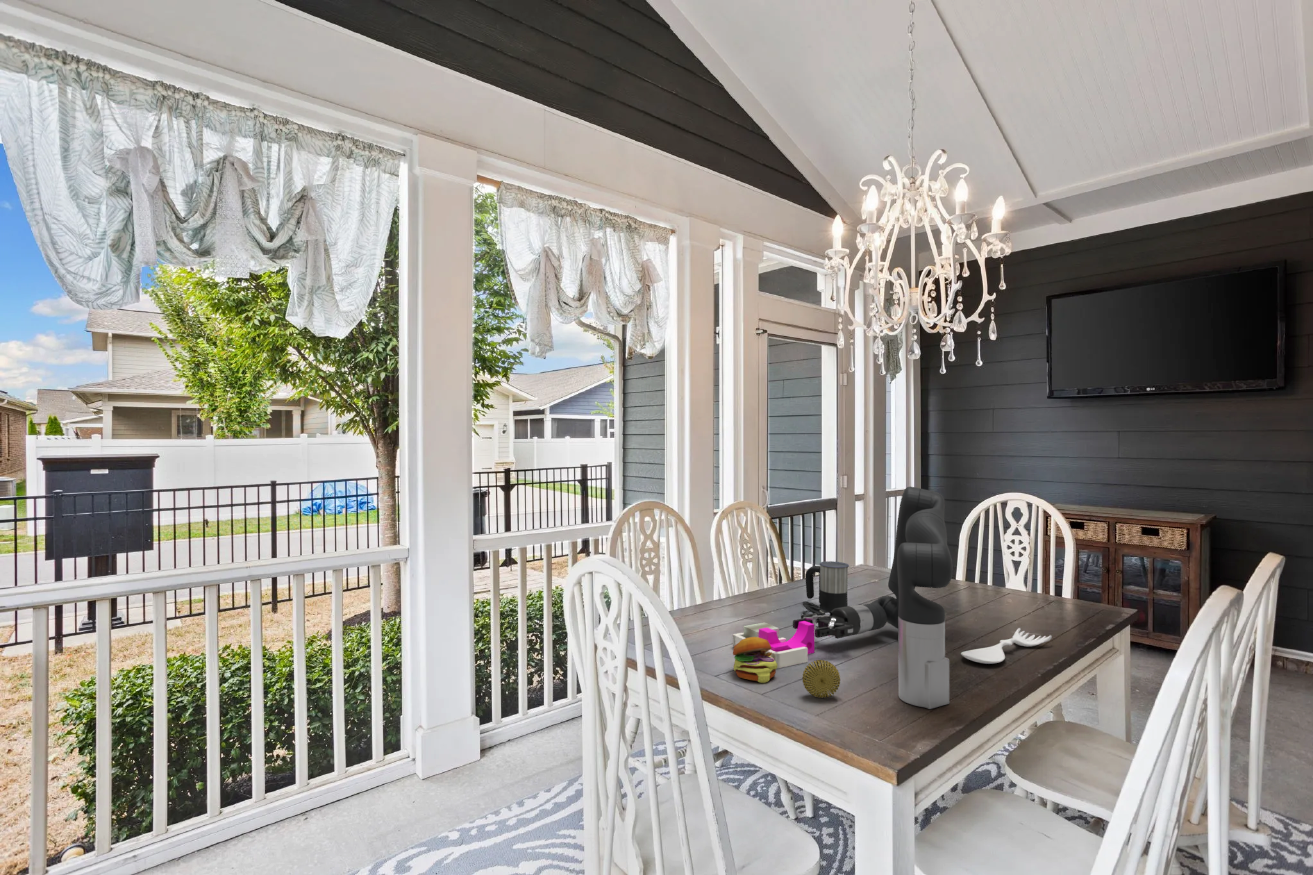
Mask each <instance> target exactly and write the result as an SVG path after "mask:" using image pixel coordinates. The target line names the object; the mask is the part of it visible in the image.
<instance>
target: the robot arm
mask: <svg viewBox="0 0 1313 875" xmlns="http://www.w3.org/2000/svg"><path fill="white" fill-rule="evenodd" d="M945 504H946V500H945V497H944V496H943V495H942V493H939V492H937V491H933V490H930V489H925V488H920V487H913V486H907V487H906V488H905V489H904V491H903V493H902V496H901V499H900V502H899V509H898V515H897V523H896V532H895V542H894V552H893V553H894V554H893V561H892V564H891V570H890V574H889V578H888V582H887V583H888V585H887V587H888V588H889V590H890V592H892V593H893V594H894V596H895V597H894V596H890V595H883V596H880V597H878V598H877V599H876V600H874V601H872V602H870V603H867V604H853V605H848V606H847V607H841V608H835V609H833V610H832V612H829V614H825V615H820V613H812V612H811V613H807V614H801V615H800V618H798V619H794V620H792V629H795V630H797V628H798V624H799V622H801V621H806V622H809V623H812V624H814V638H817V639H819V638H825V637H829V638H832V637H834V638H835V639H842V638H846V637H850V636H857V635H861V634H864V633H866V632H872V631H877V630H879V629H883V628H884V627H885V626H886V624H887V623H888V624H890V625H891V626H893V627H894V628H895V629H897V630H898V633H897V635H898V640H897V641H898V642H897V643H898V644H897V646H898V648H897V649H898V650H897V651H898V653H897V654H898V656H897V657H898V658H897V660H898V663H897V664H898V668H897V670H898V671H897V672H898V698H899V699H900V700H901V701H903V702H904V703H907V704H909V705H911V706H916V707H921V708H926V709H928V710H932V709H935V708H938V707H942V706H945V705H949V704H950V659H949V658H948V657H946V611H945V608H944V606H942V605H941V604H940V603H937V602H935V601H933V600H930V599H928V598H925V597H924V596H923V595H921V594H920V593H918V592H917V591H916V590H915V588H916V587H917V588H927V589H928V588H930V589H941V588H942V589H943V588H946V587H947V586H949V585H950V583H951V581H952V578H953V573H954V572H953V571H954V567H953V566H954V565H953V559H952V554H951V551H950V549H949V546H948V534H947V532H948V531H947V527H946V522H945V512H946V511H945V510H946V509H945V508H946V505H945Z"/></svg>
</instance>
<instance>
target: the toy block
mask: <svg viewBox="0 0 1313 875" xmlns="http://www.w3.org/2000/svg"><path fill="white" fill-rule="evenodd" d="M759 638H762V639H765V640H768V642H769V644H770V645H771V650H773V651H775V652H780V651H785V650H790V649H795V648H800V647H807V648H808V655H811V654H814V653H815V629H814V624H812V623H809V622H806V621H801V622H799V624H798V628H797V629H796V630H795V632H794V634H793V636H792V637H790V639H788V640H786V642H783V643H781V642H780V640H779V639H778V636H777V631H775V630H772V629H770V628H761V629H759Z"/></svg>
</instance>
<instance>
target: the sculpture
mask: <svg viewBox="0 0 1313 875" xmlns="http://www.w3.org/2000/svg"><path fill="white" fill-rule="evenodd" d="M802 672H803V673H802V676H801V677H802V684H803V687H804V689H805V690H806V691H807V693H808V694H810V695H811V696H813V697H814V698H818V699H823V698H824V699H826V698H829V697H831V696H832V695H834V694H835V693H837V690H839V687H840V685H841V676H840V672H839V670H838V669H837V667H836V666H835V665H834V663H832V662H830V661H828V660H826V659H825V660H824V659H816V660H814V661H811V662H810V663H808V665H806V667H805V668H804V670H803V671H802Z"/></svg>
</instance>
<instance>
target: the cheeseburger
mask: <svg viewBox="0 0 1313 875" xmlns="http://www.w3.org/2000/svg"><path fill="white" fill-rule="evenodd" d="M732 650H733V651H732V655H733V656H734V657H733V658H734V662H733V663H734V664H733V670H734V672H735V673H736V676H737V677H738V678H740V679H744V680H749V681H753V682H758V683H761V684H765V683H768V682H769V681H770V679H772V678H774V677H775V675H776V672H777V663H776V661H775V660H774V658H772V657H771V656H770V655H771V654H772V652H771V653H769V652H768V653H766V652H767V651H769V650H771V645H770V644H769V642H768V640H765V639H762V638H759V637H749V638H745V639H743V640H741V641H740V642H739V643H738V644H736V645H735V646H734V648H733V649H732ZM745 653H746V654H745Z"/></svg>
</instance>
